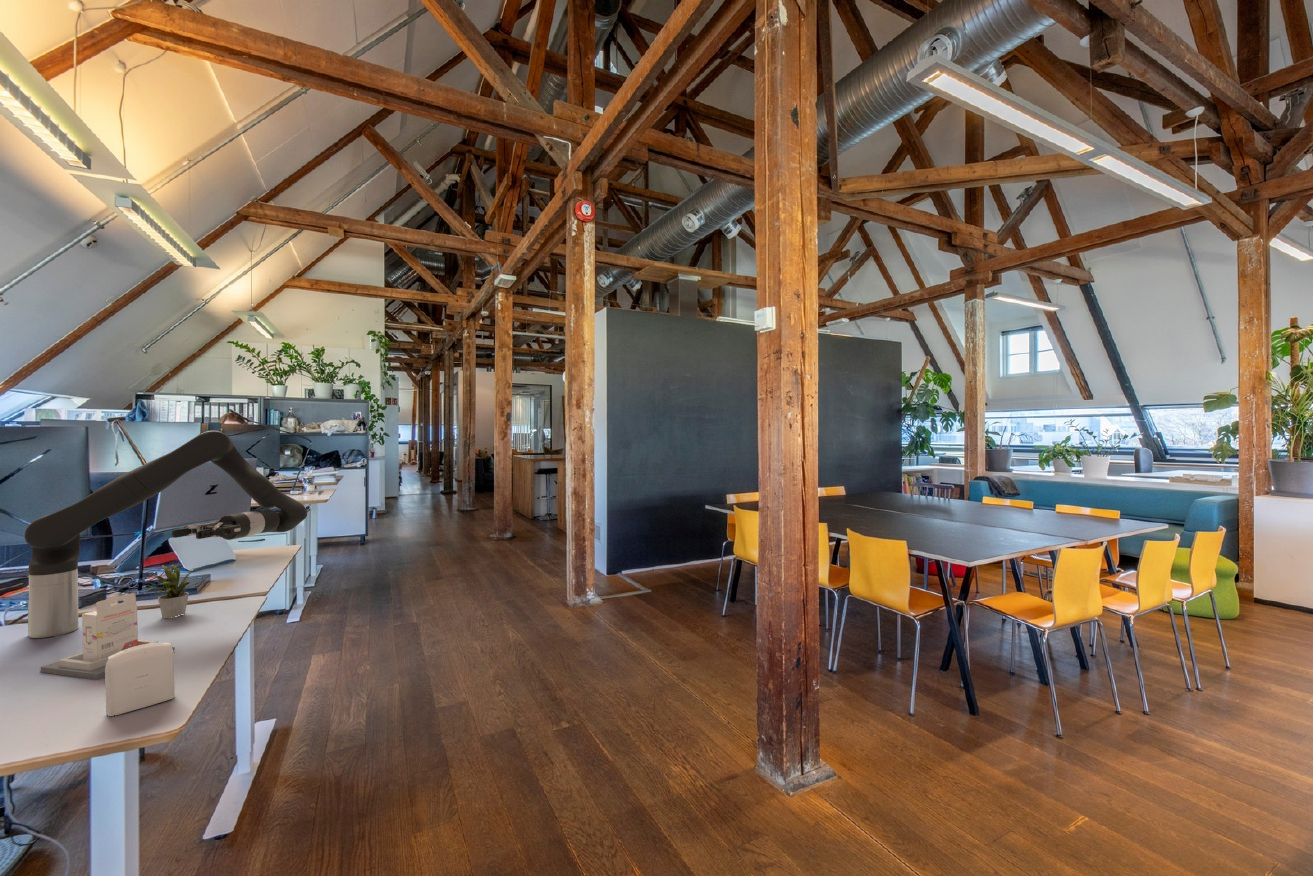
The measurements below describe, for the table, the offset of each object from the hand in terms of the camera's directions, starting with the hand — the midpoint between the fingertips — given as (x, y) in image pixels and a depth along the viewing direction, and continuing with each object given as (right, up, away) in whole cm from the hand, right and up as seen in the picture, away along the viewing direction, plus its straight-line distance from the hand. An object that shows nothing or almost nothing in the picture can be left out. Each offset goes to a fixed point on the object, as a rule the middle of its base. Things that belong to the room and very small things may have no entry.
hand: (184, 534), depth 148 cm
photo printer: (+25, -28, -38) cm, 54 cm away
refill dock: (-4, -28, -17) cm, 33 cm away
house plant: (-20, -28, +17) cm, 38 cm away
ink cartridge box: (-4, -27, -16) cm, 32 cm away
